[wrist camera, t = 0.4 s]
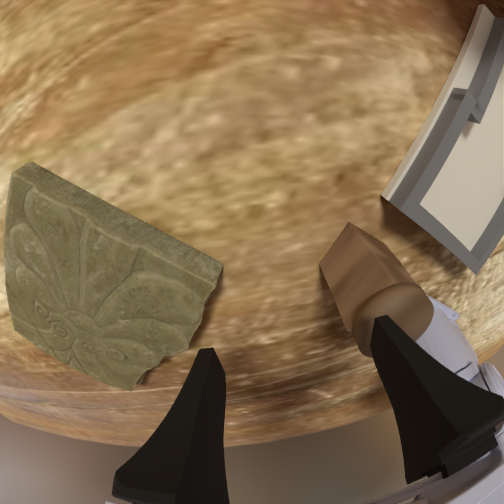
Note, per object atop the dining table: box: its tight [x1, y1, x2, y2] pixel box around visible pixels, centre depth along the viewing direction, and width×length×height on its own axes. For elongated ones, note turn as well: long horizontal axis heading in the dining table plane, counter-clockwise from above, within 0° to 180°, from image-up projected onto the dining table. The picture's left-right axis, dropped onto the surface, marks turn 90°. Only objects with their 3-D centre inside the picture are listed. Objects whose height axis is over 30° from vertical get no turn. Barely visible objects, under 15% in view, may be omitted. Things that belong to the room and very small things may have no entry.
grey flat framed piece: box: [381, 4, 504, 274], centre depth 14 cm, size 14×22×2 cm, turn 153°
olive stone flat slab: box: [4, 162, 223, 391], centre depth 21 cm, size 19×20×4 cm
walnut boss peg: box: [319, 222, 434, 358], centre depth 17 cm, size 5×5×8 cm
